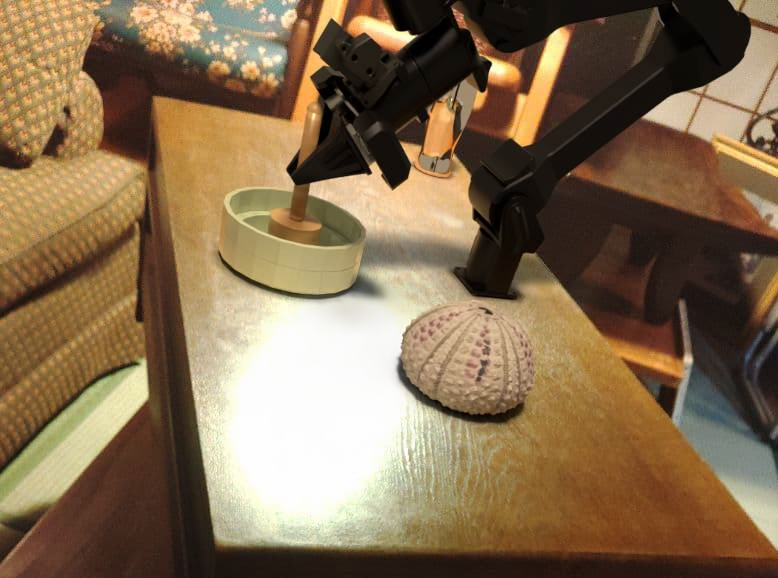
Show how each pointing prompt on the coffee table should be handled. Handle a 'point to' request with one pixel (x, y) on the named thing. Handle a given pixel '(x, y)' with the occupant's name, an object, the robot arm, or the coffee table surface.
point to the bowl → (290, 243)
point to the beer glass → (445, 129)
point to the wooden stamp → (300, 192)
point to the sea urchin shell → (469, 357)
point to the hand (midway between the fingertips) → (290, 177)
